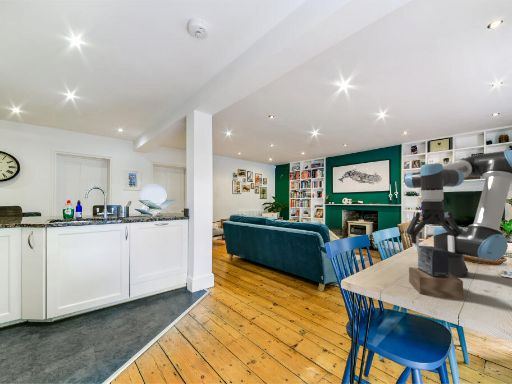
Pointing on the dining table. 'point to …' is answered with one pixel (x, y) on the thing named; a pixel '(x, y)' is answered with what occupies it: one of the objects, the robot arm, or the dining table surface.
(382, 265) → the dining table surface
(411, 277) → the walnut block
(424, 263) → the small box
